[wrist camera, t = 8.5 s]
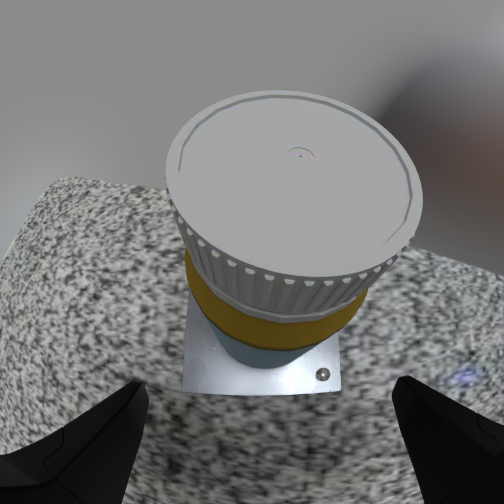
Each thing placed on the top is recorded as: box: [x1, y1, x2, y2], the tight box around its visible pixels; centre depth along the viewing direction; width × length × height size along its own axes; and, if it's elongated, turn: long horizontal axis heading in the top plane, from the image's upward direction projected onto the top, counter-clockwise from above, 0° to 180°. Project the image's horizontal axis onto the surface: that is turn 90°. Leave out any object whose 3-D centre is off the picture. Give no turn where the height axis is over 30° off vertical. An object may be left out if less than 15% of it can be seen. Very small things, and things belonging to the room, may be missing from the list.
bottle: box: [165, 90, 423, 369], centre depth 12 cm, size 7×7×15 cm
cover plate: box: [183, 288, 341, 395], centre depth 20 cm, size 11×11×1 cm
